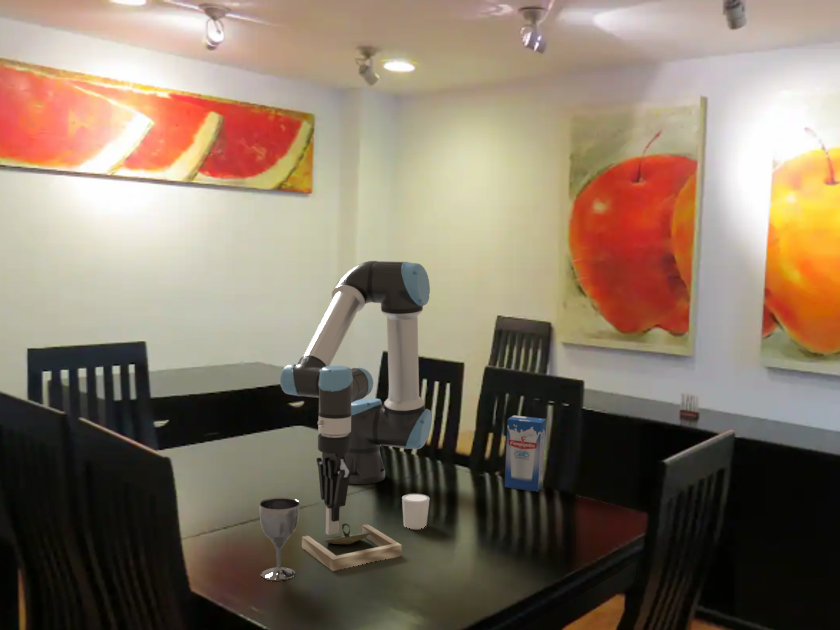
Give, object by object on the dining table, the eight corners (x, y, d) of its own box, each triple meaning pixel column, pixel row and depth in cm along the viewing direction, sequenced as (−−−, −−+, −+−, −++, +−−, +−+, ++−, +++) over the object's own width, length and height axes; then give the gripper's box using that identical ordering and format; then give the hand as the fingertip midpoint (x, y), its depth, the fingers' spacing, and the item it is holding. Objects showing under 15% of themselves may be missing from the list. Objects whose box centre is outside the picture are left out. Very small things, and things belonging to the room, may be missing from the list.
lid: (336, 557, 172) (337, 535, 171) (316, 542, 180) (316, 521, 179) (378, 548, 178) (378, 527, 177) (356, 534, 186) (357, 514, 185)
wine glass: (260, 566, 165) (262, 497, 164) (299, 566, 166) (300, 497, 165) (256, 582, 157) (257, 509, 156) (296, 582, 158) (297, 509, 157)
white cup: (425, 531, 189) (426, 503, 189) (398, 528, 191) (399, 500, 190) (431, 522, 196) (432, 494, 196) (404, 519, 198) (405, 492, 197)
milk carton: (504, 487, 228) (507, 419, 226) (510, 481, 234) (513, 415, 232) (538, 492, 224) (541, 422, 223) (543, 486, 230) (546, 418, 228)
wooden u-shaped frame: (367, 534, 186) (367, 524, 186) (401, 556, 174) (401, 545, 173) (301, 547, 176) (302, 536, 176) (332, 571, 164) (333, 559, 164)
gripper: (307, 429, 184) (305, 527, 186) (333, 441, 174) (331, 545, 176) (335, 426, 189) (333, 521, 191) (362, 437, 178) (360, 539, 180)
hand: (332, 532), depth 183 cm, fingers closed
